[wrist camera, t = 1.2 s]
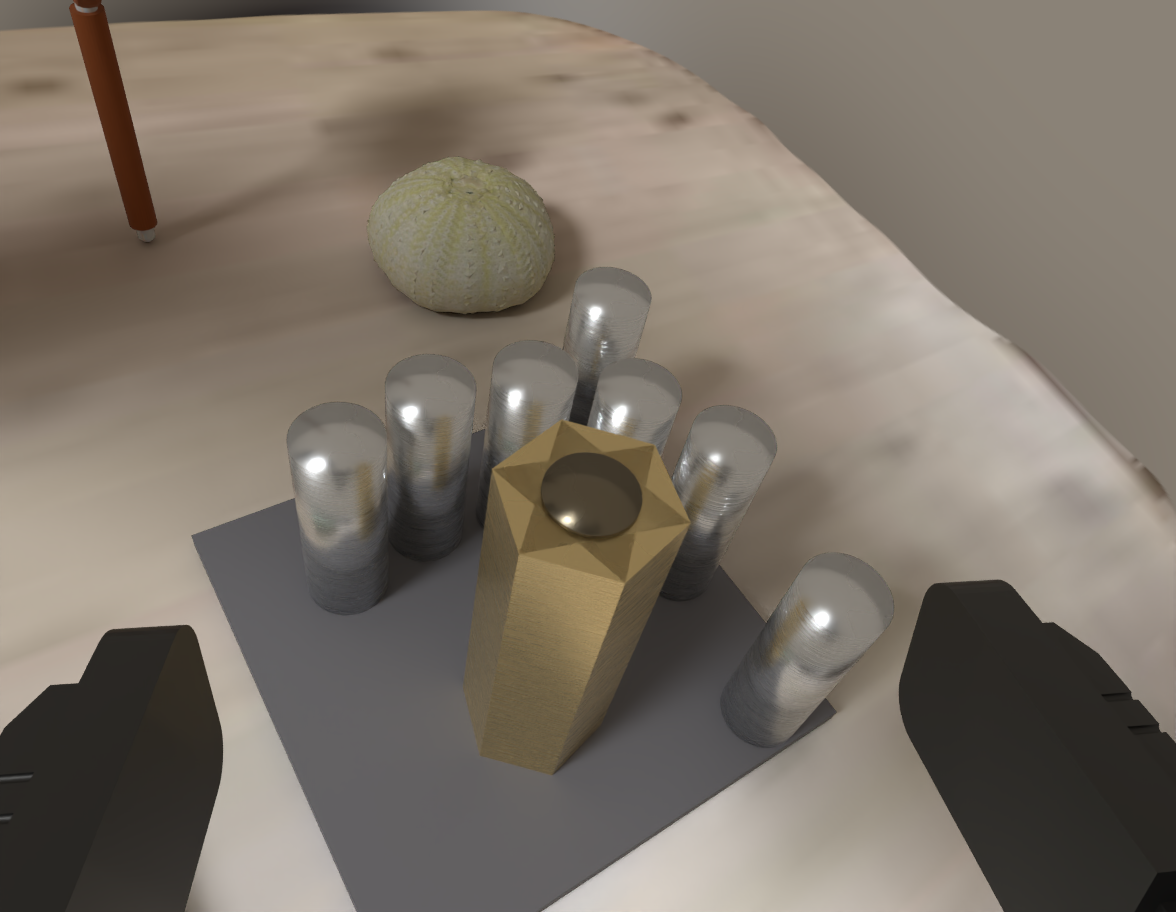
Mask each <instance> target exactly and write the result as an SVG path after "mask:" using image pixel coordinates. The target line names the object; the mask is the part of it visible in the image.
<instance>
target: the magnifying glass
mask: <svg viewBox="0 0 1176 912" xmlns="http://www.w3.org/2000/svg"><path fill="white" fill-rule="evenodd" d="M73 1H74V3H73V4H71V5H70V7H69V9H70V13H71V16H72V20H73V24H74V27H75V31H76V34H77V38H78V42H79V45H80V49H81V52H82V56H83V60H84V63H85V67H86V70H87V74H88V78H89V81H90V85H91V88H92V92H93V96H94V99H95V103H96V106H97V110H98V114H99V117H100V121H101V124H102V128H103V132H104V135H105V139H106V142H107V146H108V150H109V153H110V157H111V160H112V164H113V168H114V171H115V175H116V178H117V182H118V186H119V189H120V193H121V196H122V200H123V204H124V207H125V211H126V214H127V218H128V222H129V225H130V227H131V228H133V229H135V230H136V231H137V235H138V238H139V239H140V240H142V241H145V242H150V241H151V240H152V239H154V238H155V232H154V227H155V226H156V225H157V219H156V215H155V211H154V207H153V203H152V199H151V195H150V191H149V187H148V183H147V179H146V175H145V171H144V167H143V163H142V159H141V155H140V151H139V146H138V142H137V138H136V134H135V130H134V126H133V122H132V118H131V114H130V110H129V106H128V102H127V98H126V94H125V90H124V86H123V82H122V78H121V74H120V70H119V66H118V62H117V58H116V54H115V50H114V46H113V42H112V38H111V34H110V30H109V26H108V22H107V18H106V13H105V9H104V6H103V5H102V4H101V0H73Z"/></svg>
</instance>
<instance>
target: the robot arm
mask: <svg viewBox="0 0 1176 912" xmlns="http://www.w3.org/2000/svg"><path fill="white" fill-rule="evenodd" d="M899 704H900V711H901V715H902V720H903V723H904V726H905V729H906V731H907V734H908V736H909V738H910V740H911V741H912V743H913V745H914V747H915V749H916V751H917V753H918V754H919V756H920V758H921V760H922V762H923V764H924V765H925V767H926V769H927V771H928V773H929V775H930V776H931V778H932V780H933V782H934V784H935V786H936V787H937V789H938V791H939V793H940V795H941V797H942V798H943V800H944V802H945V804H946V806H947V808H948V810H949V811H950V813H951V815H952V817H953V819H954V821H955V822H956V824H957V826H958V828H959V830H960V832H961V833H962V835H963V837H964V839H965V841H966V843H967V844H968V846H969V848H970V850H971V852H972V854H973V855H974V857H975V859H976V861H977V863H978V865H979V867H980V868H981V870H982V872H983V874H984V876H985V878H986V879H987V881H988V883H989V885H990V887H991V889H992V890H993V892H994V894H995V896H996V898H997V900H998V901H999V903H1000V905H1001V907H1002V909H1003V911H1004V912H1176V743H1175V742H1174V741H1173V739H1172V738H1171V737H1170V736H1169V735H1168V734H1167V733H1166V732H1163V733H1161V731H1160V730H1159V723H1158V722H1157V721H1156V720H1155V719H1154V717H1153V716H1152V715H1151V714H1150V713H1149V712H1148V710H1147V709H1146V708H1145V707H1144V706H1143V705H1142V704H1141V702H1140V701H1139V700H1133V699H1132V696H1131V691H1130V690H1129V688H1128V687H1127V686H1126V685H1125V684H1124V683H1123V681H1122V680H1121V679H1120V678H1119V677H1118V676H1117V675H1116V673H1115V672H1114V671H1113V670H1112V669H1111V668H1110V666H1109V665H1108V664H1107V663H1106V662H1105V661H1104V659H1103V658H1102V657H1101V656H1100V655H1099V654H1098V653H1097V652H1095V651H1094V650H1092V649H1091V648H1090V647H1088V646H1087V645H1085V644H1084V643H1082V642H1081V641H1079V640H1078V639H1077V638H1075V637H1074V636H1072V635H1071V634H1069V633H1068V632H1067V631H1065V630H1064V629H1062V628H1061V627H1059V626H1058V625H1056V624H1055V623H1054V622H1051V623H1042V622H1041V621H1040V620H1039V618H1038V617H1037V616H1036V615H1035V613H1034V612H1033V611H1032V610H1031V609H1030V607H1029V606H1028V605H1027V604H1026V603H1025V601H1024V600H1023V599H1022V598H1021V596H1020V595H1019V594H1018V593H1017V592H1016V590H1015V589H1014V588H1013V587H1012V586H1011V585H1009V584H1008V583H1007V582H1005V581H1002V580H983V581H966V582H949V583H936V584H934V585H932V586H931V587H930V588H929V589H928V590H927V592H926V594H925V596H924V599H923V602H922V606H921V609H920V613H919V616H918V619H917V623H916V626H915V630H914V633H913V637H912V640H911V644H910V647H909V651H908V654H907V657H906V661H905V664H904V668H903V671H902V675H901V679H900V684H899ZM222 764H223V738H222V730H221V725H220V721H219V717H218V713H217V710H216V706H215V702H214V698H213V695H212V691H211V687H210V684H209V680H208V676H207V672H206V669H205V665H204V661H203V657H202V654H201V650H200V646H199V643H198V639H197V636H196V634H195V632H194V630H193V629H192V627H190V626H189V625H176V626H158V627H141V628H124V629H112V630H109V631H108V632H106V633H105V634H104V636H103V637H102V638H101V640H100V642H99V643H98V645H97V647H96V649H95V651H94V653H93V655H92V657H91V659H90V661H89V663H88V665H87V667H86V669H85V671H84V673H83V675H82V677H81V679H80V681H79V683H76V684H60V685H50V686H49V687H48V688H47V689H46V690H45V691H43V692H42V693H41V694H40V695H39V696H38V697H37V698H36V699H35V700H34V701H33V702H32V703H31V704H30V705H28V706H27V707H26V708H25V709H24V710H23V711H22V712H21V713H20V714H19V715H18V716H17V717H16V718H14V719H13V720H12V721H11V722H10V723H9V724H8V725H7V726H6V727H5V728H4V730H3V731H2V733H1V735H0V912H184V911H185V907H186V903H187V900H188V896H189V893H190V889H191V886H192V882H193V878H194V875H195V871H196V868H197V864H198V861H199V857H200V853H201V850H202V846H203V843H204V839H205V836H206V832H207V828H208V825H209V821H210V818H211V814H212V811H213V807H214V803H215V800H216V796H217V793H218V789H219V785H220V780H221V773H222Z"/></svg>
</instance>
